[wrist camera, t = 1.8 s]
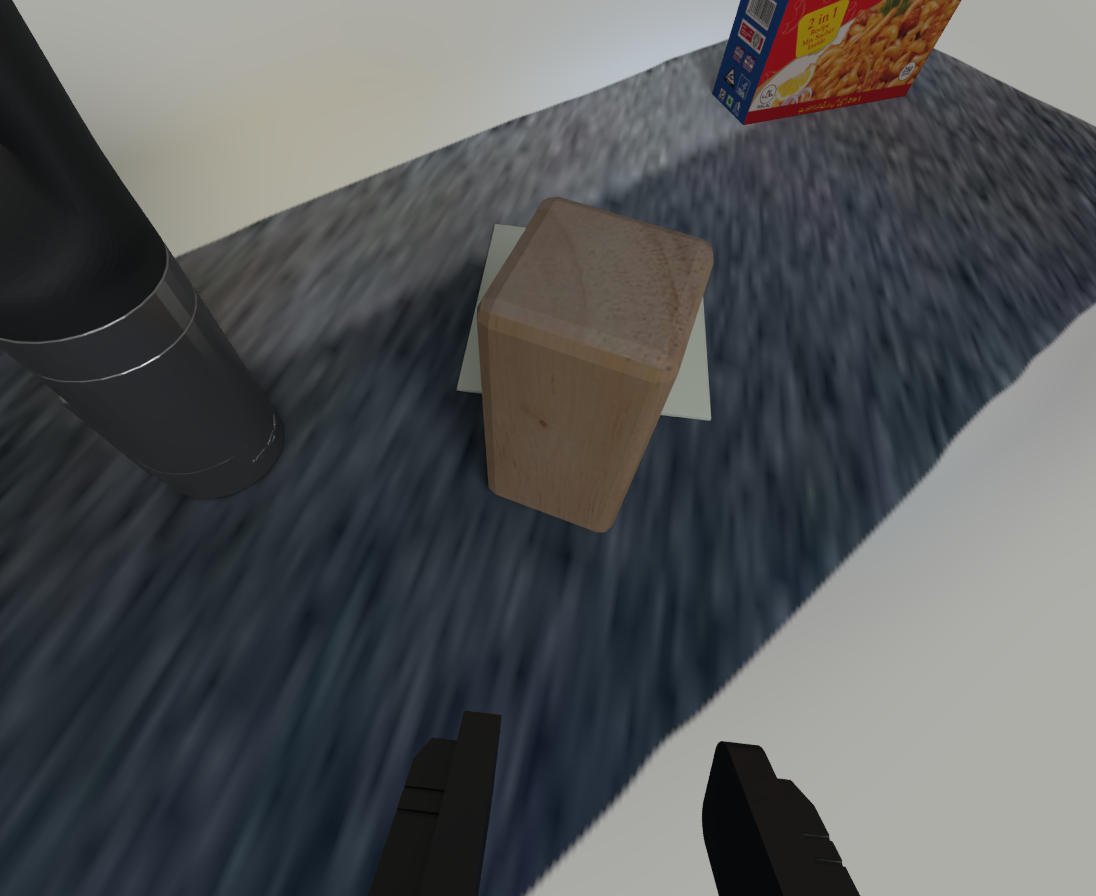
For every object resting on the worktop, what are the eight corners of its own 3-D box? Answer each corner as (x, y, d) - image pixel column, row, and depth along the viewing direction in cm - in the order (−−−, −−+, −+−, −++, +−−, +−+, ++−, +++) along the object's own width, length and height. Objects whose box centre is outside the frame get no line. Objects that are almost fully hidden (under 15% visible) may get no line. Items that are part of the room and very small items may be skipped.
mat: (457, 390, 47) (456, 388, 46) (495, 226, 58) (495, 224, 57) (709, 420, 47) (711, 418, 46) (698, 250, 58) (699, 248, 58)
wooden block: (484, 495, 42) (467, 306, 25) (531, 398, 47) (544, 184, 29) (606, 541, 40) (679, 375, 23) (641, 436, 45) (723, 236, 28)
